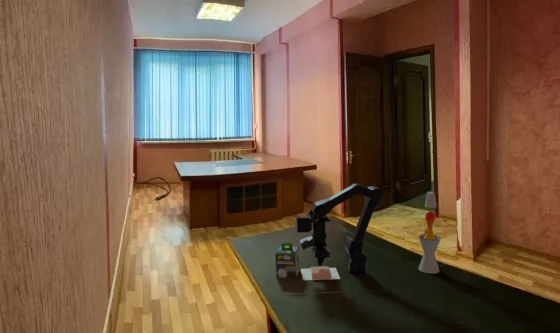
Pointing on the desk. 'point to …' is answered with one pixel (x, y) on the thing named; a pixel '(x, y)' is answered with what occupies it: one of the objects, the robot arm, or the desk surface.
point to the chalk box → (287, 261)
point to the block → (320, 272)
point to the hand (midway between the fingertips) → (319, 265)
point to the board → (307, 276)
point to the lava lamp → (429, 239)
